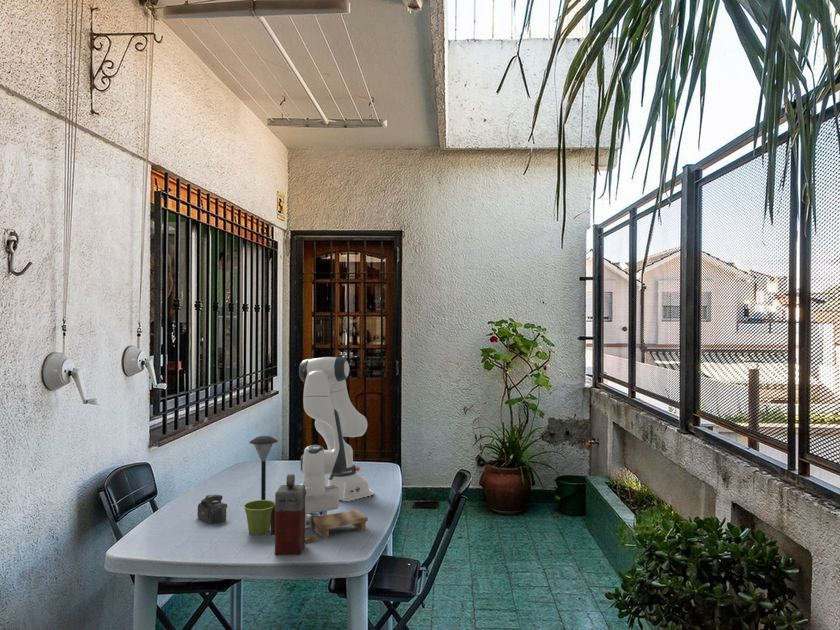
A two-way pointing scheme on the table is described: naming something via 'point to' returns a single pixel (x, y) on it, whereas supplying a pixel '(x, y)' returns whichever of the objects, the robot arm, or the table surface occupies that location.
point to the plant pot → (259, 516)
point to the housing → (311, 520)
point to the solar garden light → (263, 457)
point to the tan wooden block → (311, 538)
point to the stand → (339, 521)
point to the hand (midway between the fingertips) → (313, 523)
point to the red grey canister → (289, 518)
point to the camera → (212, 509)
